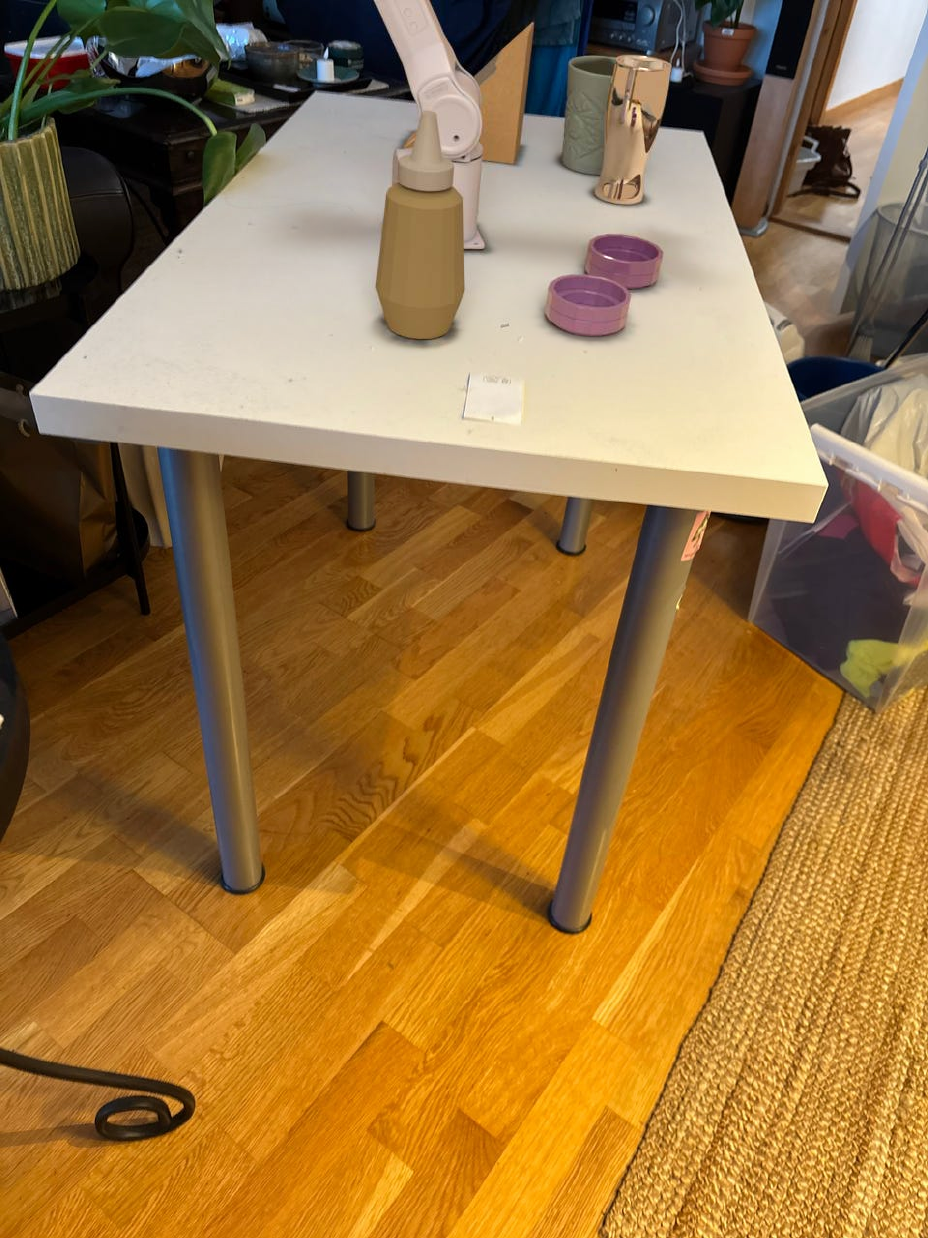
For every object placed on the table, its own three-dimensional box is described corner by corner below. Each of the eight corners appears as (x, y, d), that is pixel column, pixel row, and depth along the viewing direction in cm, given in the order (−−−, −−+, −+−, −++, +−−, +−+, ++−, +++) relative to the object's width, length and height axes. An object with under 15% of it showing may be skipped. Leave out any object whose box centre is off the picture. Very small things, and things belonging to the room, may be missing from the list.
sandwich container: (413, 131, 129) (418, 6, 119) (520, 145, 128) (534, 20, 118) (401, 149, 123) (405, 18, 112) (513, 164, 122) (528, 34, 112)
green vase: (627, 158, 128) (646, 60, 120) (629, 181, 120) (649, 79, 112) (556, 149, 128) (569, 51, 120) (553, 172, 121) (568, 69, 113)
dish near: (556, 340, 85) (561, 309, 83) (536, 303, 90) (540, 273, 88) (635, 339, 86) (641, 309, 84) (610, 303, 92) (616, 274, 90)
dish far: (595, 291, 94) (601, 263, 92) (575, 261, 99) (580, 233, 97) (666, 291, 95) (673, 263, 93) (643, 261, 101) (649, 234, 99)
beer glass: (643, 209, 113) (672, 72, 103) (588, 200, 114) (611, 63, 103) (646, 191, 118) (674, 59, 108) (593, 183, 119) (616, 51, 108)
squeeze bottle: (414, 300, 89) (423, 93, 76) (479, 328, 85) (499, 116, 73) (356, 324, 84) (356, 108, 72) (422, 355, 80) (434, 134, 68)
